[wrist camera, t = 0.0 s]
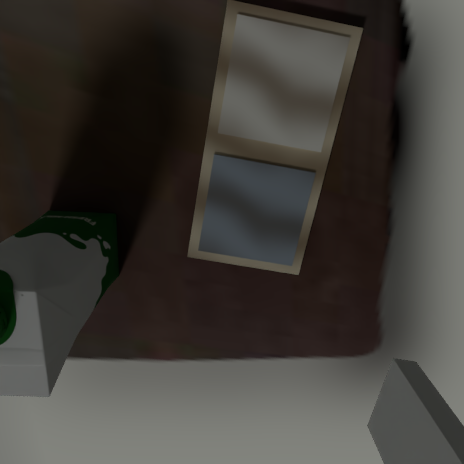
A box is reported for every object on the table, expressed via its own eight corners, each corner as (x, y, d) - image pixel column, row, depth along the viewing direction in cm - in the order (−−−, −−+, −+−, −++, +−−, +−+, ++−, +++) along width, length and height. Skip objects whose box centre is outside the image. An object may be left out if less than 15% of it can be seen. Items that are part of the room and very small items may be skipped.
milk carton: (124, 205, 39) (27, 300, 20) (128, 284, 42) (45, 433, 23) (38, 201, 38) (-144, 294, 20) (48, 280, 41) (-103, 429, 22)
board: (227, 2, 33) (227, -2, 32) (358, 30, 34) (364, 27, 32) (188, 252, 40) (187, 257, 39) (296, 270, 41) (298, 276, 40)
